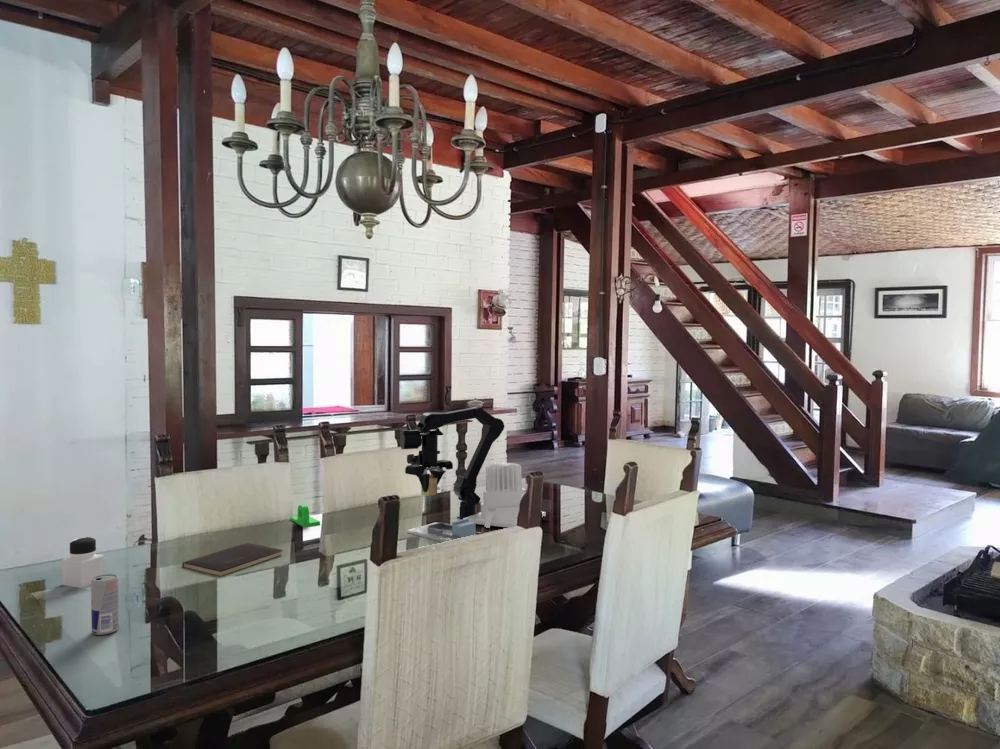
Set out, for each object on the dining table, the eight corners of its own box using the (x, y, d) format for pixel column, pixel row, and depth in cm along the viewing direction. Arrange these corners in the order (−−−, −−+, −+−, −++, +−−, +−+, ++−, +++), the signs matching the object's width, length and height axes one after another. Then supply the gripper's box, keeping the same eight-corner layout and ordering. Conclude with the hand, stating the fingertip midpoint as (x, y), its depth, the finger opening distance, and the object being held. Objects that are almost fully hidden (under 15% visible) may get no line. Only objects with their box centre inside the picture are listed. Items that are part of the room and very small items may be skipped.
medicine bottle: (105, 580, 196) (104, 536, 195) (81, 589, 189) (81, 543, 188) (84, 577, 198) (84, 534, 197) (61, 586, 191) (60, 541, 191)
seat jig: (436, 525, 257) (436, 517, 257) (483, 536, 243) (483, 527, 243) (407, 533, 246) (407, 524, 246) (454, 545, 232) (454, 536, 232)
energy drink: (98, 626, 165) (97, 574, 164) (123, 625, 165) (122, 573, 165) (87, 635, 159) (86, 581, 159) (112, 635, 160) (111, 581, 159)
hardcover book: (282, 557, 220) (282, 549, 220) (220, 578, 200) (220, 570, 200) (245, 549, 228) (245, 542, 228) (182, 569, 207) (182, 561, 207)
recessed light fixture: (513, 532, 246) (511, 470, 246) (460, 526, 258) (458, 467, 257) (547, 518, 268) (546, 460, 267) (497, 512, 279) (496, 457, 279)
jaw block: (429, 492, 264) (429, 473, 263) (437, 494, 261) (437, 475, 261) (421, 494, 261) (421, 475, 260) (429, 496, 258) (429, 476, 258)
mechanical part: (320, 527, 255) (320, 504, 254) (303, 529, 251) (303, 506, 251) (306, 520, 264) (306, 498, 264) (290, 522, 261) (290, 500, 260)
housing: (466, 532, 243) (466, 518, 243) (475, 534, 241) (475, 520, 240) (452, 536, 238) (452, 522, 237) (461, 538, 235) (461, 524, 235)
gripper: (432, 443, 272) (432, 484, 273) (394, 448, 258) (394, 491, 259) (453, 446, 265) (453, 488, 266) (416, 451, 251) (416, 496, 252)
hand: (429, 491), depth 261 cm, fingers closed on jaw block, 4 cm apart
